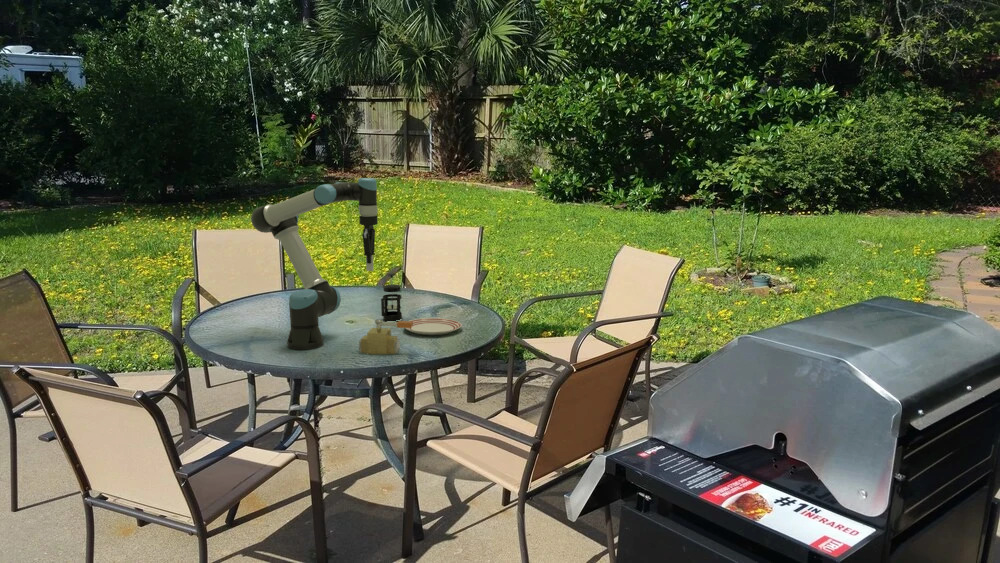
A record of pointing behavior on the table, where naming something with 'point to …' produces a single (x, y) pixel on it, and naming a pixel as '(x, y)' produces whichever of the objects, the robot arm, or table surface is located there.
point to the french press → (384, 307)
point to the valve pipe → (379, 342)
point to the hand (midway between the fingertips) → (370, 270)
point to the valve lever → (394, 324)
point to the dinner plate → (434, 326)
